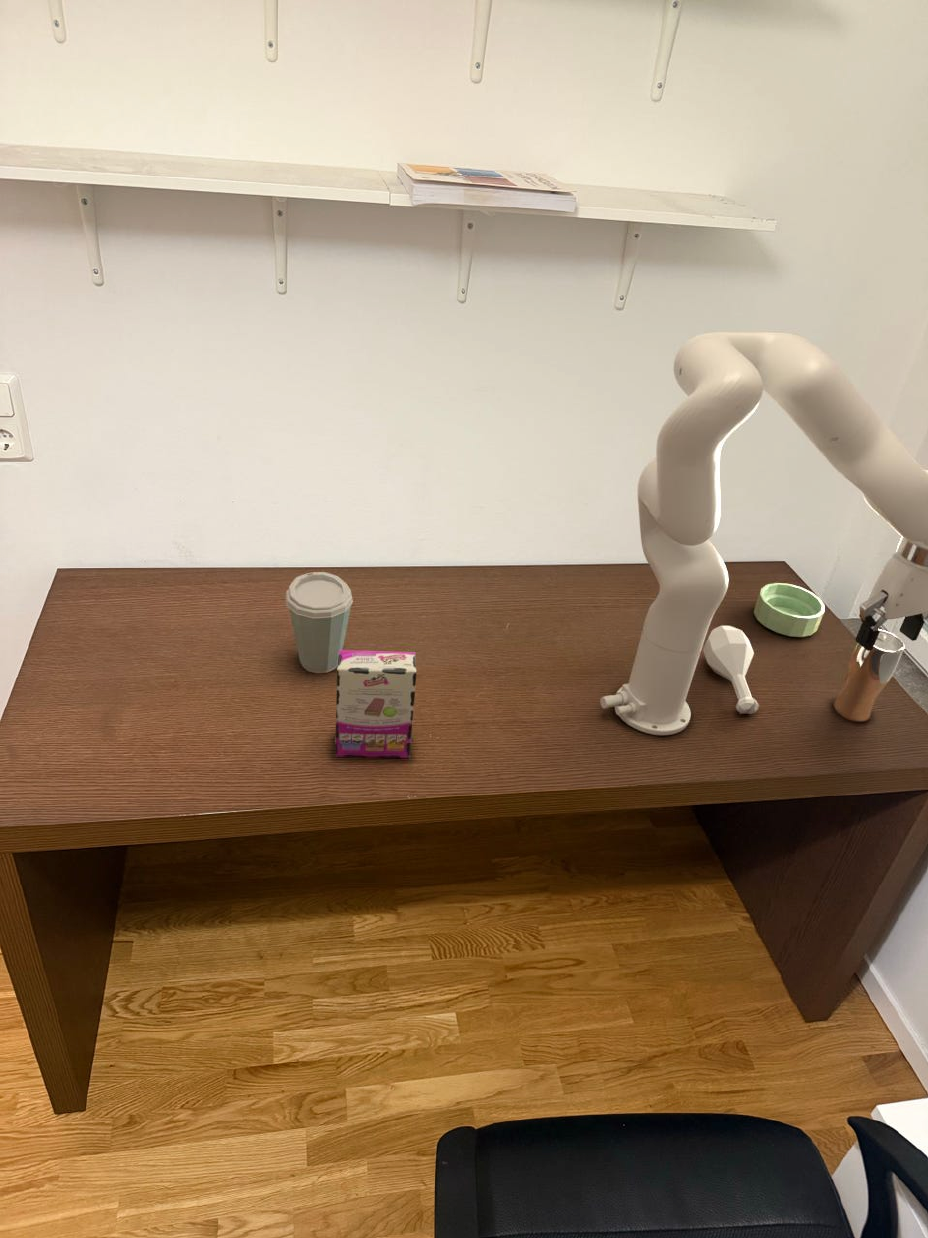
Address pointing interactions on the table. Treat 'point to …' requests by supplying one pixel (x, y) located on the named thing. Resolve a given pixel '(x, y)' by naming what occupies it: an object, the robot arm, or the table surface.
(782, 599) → the sage bowl
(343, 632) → the disposable coffee cup
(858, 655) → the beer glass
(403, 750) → the candy bar box
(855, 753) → the table surface
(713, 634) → the chicken leg
